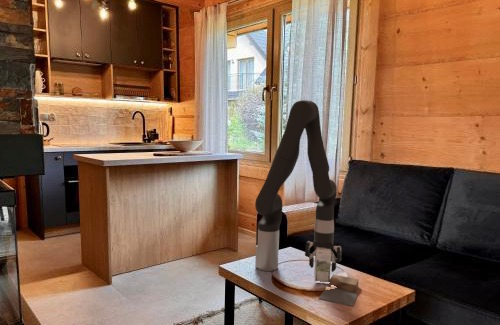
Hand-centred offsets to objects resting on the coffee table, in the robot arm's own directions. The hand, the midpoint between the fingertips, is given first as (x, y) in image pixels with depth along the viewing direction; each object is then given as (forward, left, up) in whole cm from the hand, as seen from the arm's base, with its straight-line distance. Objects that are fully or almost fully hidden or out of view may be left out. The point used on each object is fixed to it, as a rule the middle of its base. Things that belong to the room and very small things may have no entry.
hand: (322, 269), depth 148 cm
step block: (+9, -1, -5) cm, 10 cm away
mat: (+9, -10, -5) cm, 14 cm away
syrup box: (0, 0, -5) cm, 5 cm away
